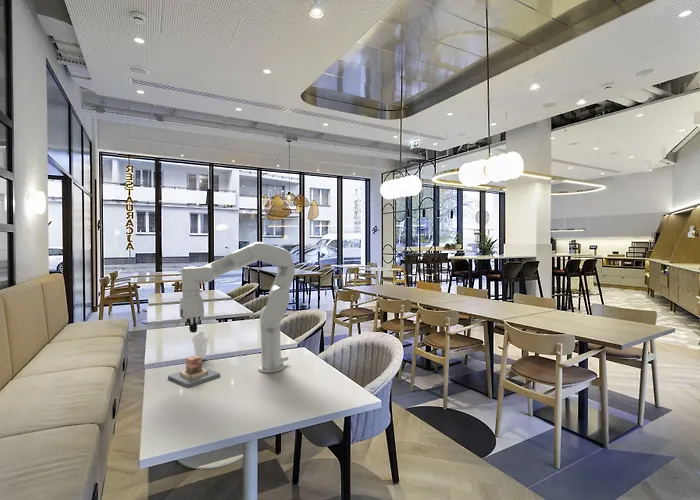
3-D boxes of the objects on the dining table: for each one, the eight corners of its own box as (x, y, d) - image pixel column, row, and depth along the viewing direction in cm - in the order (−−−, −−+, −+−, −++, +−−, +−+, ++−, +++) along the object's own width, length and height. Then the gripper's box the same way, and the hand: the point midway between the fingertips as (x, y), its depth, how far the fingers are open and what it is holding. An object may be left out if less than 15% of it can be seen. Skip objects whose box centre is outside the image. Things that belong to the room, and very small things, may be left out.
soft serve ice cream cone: (189, 360, 204) (188, 331, 204) (200, 355, 212) (199, 327, 211) (201, 362, 201) (200, 332, 200) (212, 357, 209) (211, 328, 208)
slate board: (199, 368, 191) (199, 362, 191) (220, 376, 180) (220, 370, 180) (168, 378, 178) (167, 372, 178) (188, 387, 167) (187, 380, 167)
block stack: (196, 371, 182) (195, 355, 182) (202, 373, 179) (201, 357, 179) (186, 374, 179) (185, 358, 178) (192, 377, 175) (191, 360, 175)
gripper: (201, 290, 186) (203, 327, 186) (171, 295, 174) (173, 334, 175) (210, 291, 181) (212, 329, 182) (180, 296, 169) (182, 336, 170)
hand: (193, 331), depth 178 cm, fingers closed
